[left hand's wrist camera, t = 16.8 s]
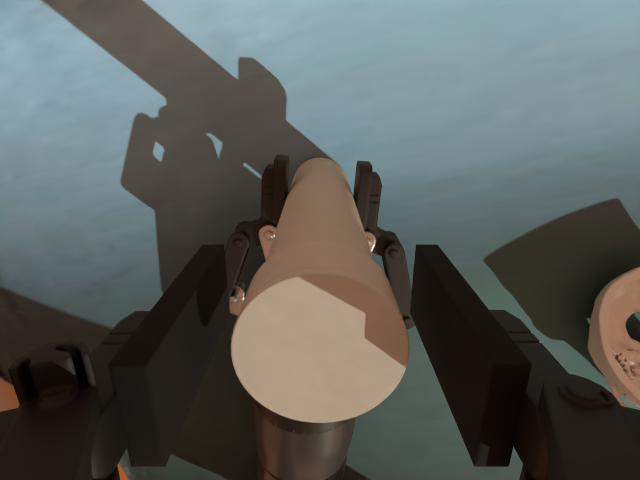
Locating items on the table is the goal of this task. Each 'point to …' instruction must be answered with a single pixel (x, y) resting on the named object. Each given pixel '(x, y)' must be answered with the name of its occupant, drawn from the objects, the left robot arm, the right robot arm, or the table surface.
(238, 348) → the lid
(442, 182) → the table surface
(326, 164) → the slender beige bottle
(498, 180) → the table surface
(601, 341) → the skull bowl
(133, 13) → the table surface
